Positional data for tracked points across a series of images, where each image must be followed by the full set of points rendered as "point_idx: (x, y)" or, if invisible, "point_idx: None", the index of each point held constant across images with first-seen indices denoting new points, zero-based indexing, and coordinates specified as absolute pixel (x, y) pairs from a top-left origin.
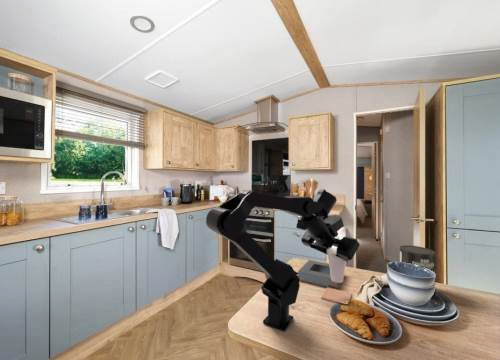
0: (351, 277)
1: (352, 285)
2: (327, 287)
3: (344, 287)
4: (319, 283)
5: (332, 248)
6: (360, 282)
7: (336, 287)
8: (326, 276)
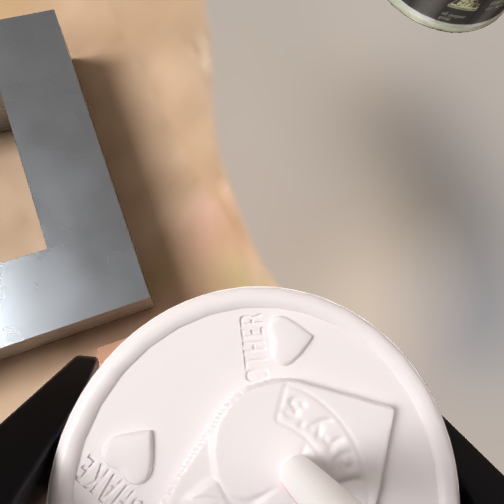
0: (131, 53)
1: (196, 164)
2: (101, 350)
3: (174, 232)
4: (22, 349)
5: (105, 395)
6: (209, 85)
7: (153, 305)
8: (54, 309)
